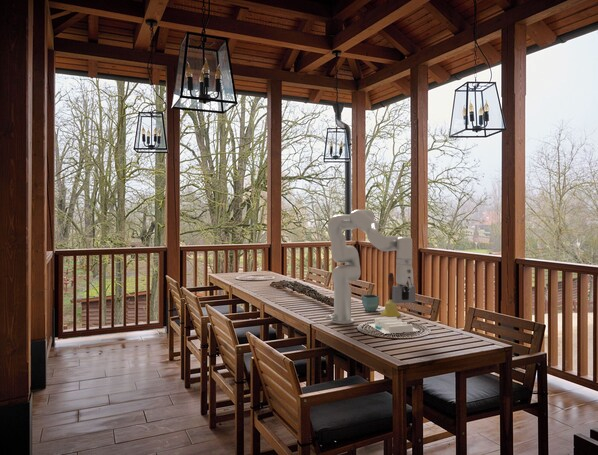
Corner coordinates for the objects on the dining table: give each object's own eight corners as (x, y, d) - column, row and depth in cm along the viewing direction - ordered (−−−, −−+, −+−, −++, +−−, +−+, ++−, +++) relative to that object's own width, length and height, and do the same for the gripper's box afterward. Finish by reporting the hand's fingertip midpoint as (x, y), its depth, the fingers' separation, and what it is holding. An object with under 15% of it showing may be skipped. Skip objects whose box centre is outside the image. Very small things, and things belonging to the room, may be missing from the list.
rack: (384, 335, 235) (384, 327, 235) (367, 325, 254) (367, 318, 254) (419, 332, 240) (419, 324, 240) (400, 322, 259) (401, 316, 259)
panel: (395, 303, 228) (395, 287, 228) (392, 302, 231) (392, 286, 231) (415, 302, 231) (415, 286, 231) (412, 300, 234) (412, 285, 234)
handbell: (386, 317, 272) (386, 274, 271) (377, 313, 284) (377, 272, 283) (405, 316, 275) (405, 274, 274) (395, 311, 287) (395, 271, 286)
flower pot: (366, 312, 286) (366, 297, 285) (360, 309, 294) (361, 295, 294) (379, 311, 288) (379, 297, 288) (373, 308, 297) (373, 294, 296)
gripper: (419, 263, 224) (419, 301, 224) (403, 259, 239) (402, 295, 240) (405, 264, 222) (404, 302, 222) (389, 260, 237) (389, 296, 238)
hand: (403, 298), depth 231 cm, fingers closed on panel, 3 cm apart
